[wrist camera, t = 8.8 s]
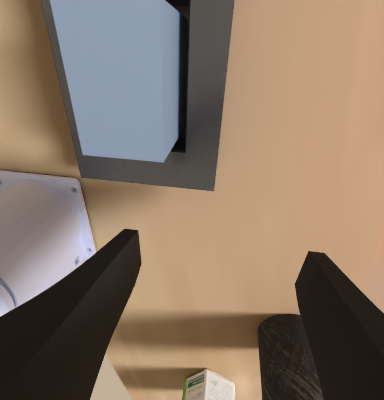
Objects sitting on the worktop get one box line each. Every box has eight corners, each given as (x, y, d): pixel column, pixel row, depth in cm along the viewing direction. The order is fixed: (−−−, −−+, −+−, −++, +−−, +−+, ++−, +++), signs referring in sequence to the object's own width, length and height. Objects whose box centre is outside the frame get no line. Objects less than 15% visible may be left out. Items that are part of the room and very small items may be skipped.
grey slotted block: (216, 168, 18) (213, 196, 15) (104, 157, 19) (75, 182, 15) (264, -281, 9) (289, -519, 5) (36, -264, 10) (-83, -460, 6)
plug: (183, 128, 16) (163, 162, 11) (127, 124, 17) (82, 154, 11) (186, 18, 13) (159, -4, 8) (116, 15, 13) (48, -8, 8)
